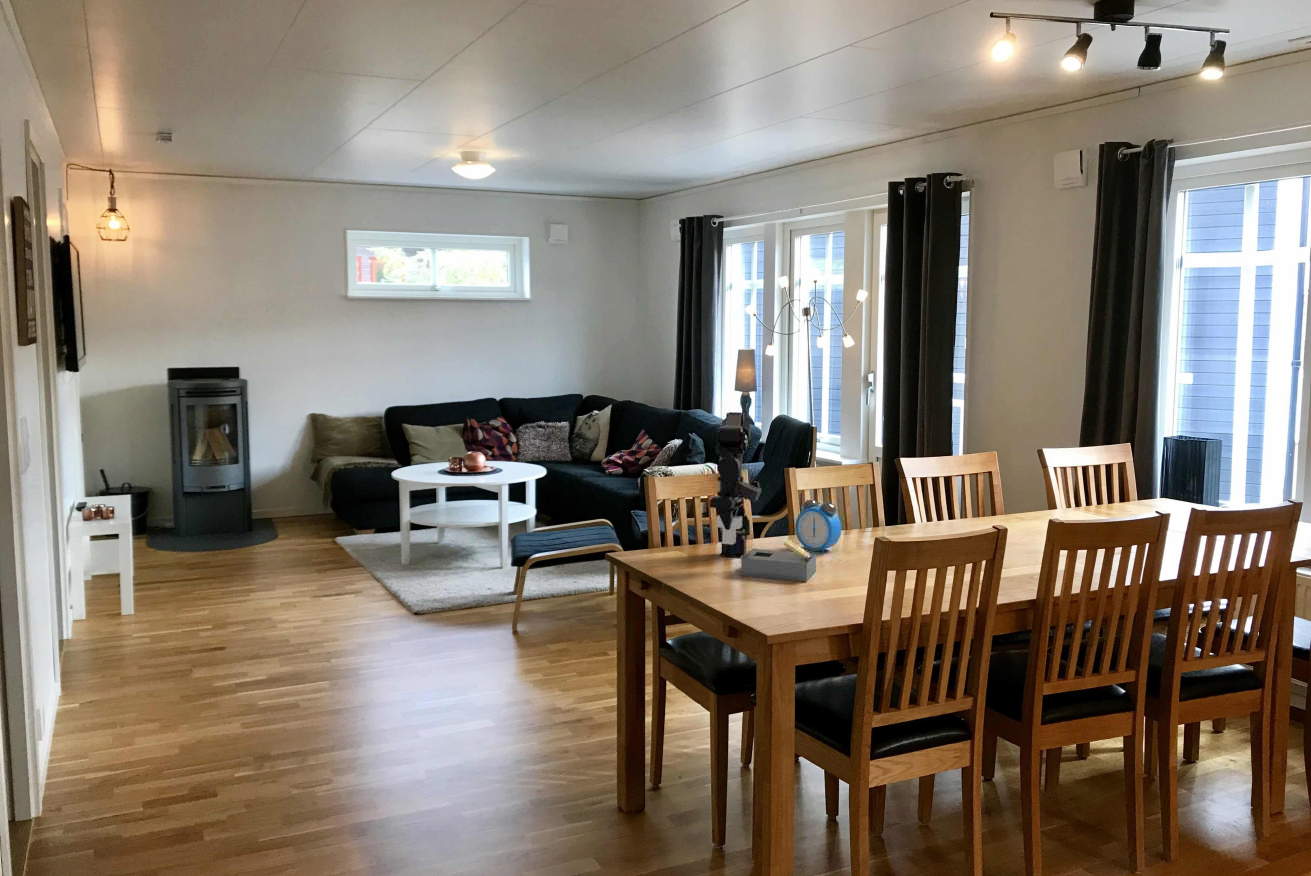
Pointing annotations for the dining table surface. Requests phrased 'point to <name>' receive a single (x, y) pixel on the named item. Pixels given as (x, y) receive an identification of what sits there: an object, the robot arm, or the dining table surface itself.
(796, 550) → the brass latch
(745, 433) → the robot arm
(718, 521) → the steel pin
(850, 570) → the dining table surface
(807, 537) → the alarm clock
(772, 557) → the block
